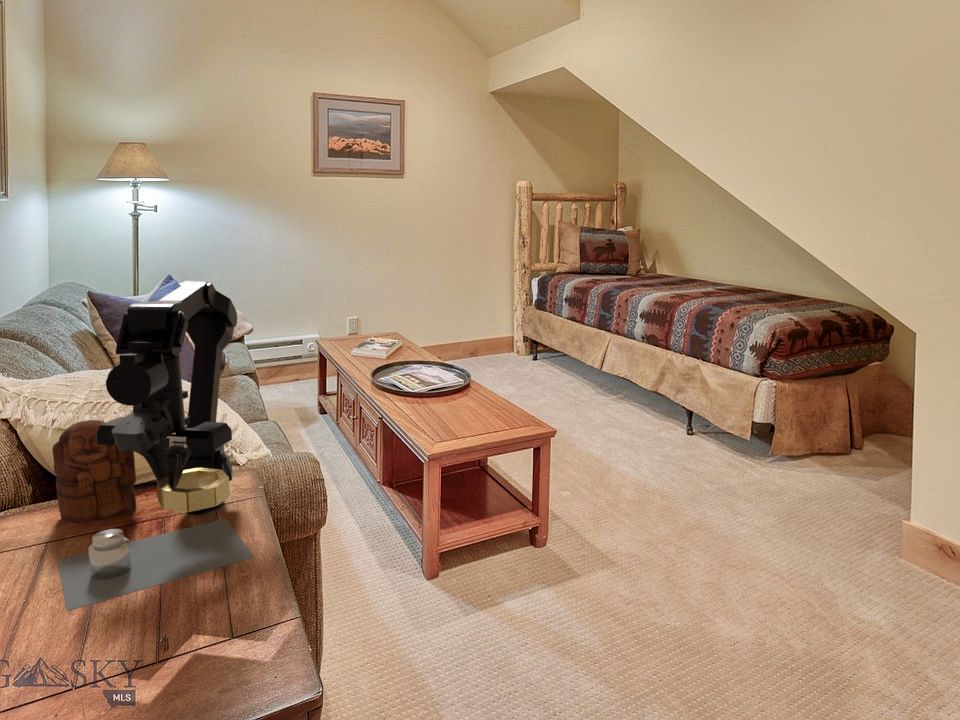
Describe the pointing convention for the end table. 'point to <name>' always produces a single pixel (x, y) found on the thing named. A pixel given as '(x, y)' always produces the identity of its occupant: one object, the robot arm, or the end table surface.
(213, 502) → the brass ring
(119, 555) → the silver calibration weight
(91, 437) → the wooden figurine
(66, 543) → the end table surface
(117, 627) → the end table surface
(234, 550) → the mat
